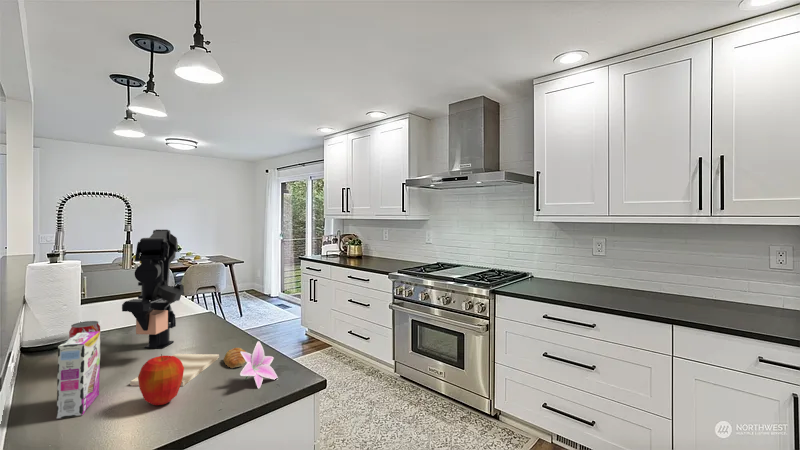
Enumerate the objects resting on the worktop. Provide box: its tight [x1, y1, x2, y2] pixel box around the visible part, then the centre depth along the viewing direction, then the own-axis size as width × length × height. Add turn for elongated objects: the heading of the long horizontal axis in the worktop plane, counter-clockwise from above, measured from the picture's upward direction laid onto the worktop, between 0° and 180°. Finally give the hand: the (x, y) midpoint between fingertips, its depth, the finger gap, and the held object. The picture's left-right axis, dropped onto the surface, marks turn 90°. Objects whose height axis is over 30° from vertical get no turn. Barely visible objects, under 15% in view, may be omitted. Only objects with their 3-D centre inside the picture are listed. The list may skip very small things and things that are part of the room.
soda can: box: [68, 320, 102, 361], centre depth 111 cm, size 7×7×13 cm
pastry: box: [223, 347, 247, 369], centre depth 115 cm, size 9×7×4 cm
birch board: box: [129, 353, 220, 387], centre depth 109 cm, size 20×14×1 cm
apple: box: [137, 354, 184, 406], centre depth 90 cm, size 9×9×12 cm
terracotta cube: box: [135, 310, 168, 335], centre depth 117 cm, size 6×6×6 cm
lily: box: [239, 340, 279, 390], centre depth 103 cm, size 12×12×10 cm
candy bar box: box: [56, 330, 101, 420], centre depth 88 cm, size 11×5×16 cm, turn 23°
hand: (152, 327), depth 117 cm, fingers closed on terracotta cube, 6 cm apart
